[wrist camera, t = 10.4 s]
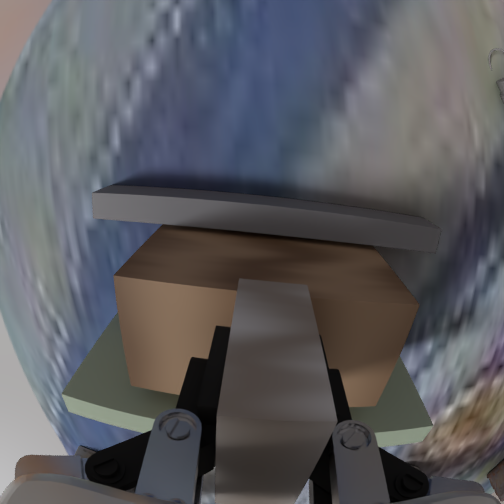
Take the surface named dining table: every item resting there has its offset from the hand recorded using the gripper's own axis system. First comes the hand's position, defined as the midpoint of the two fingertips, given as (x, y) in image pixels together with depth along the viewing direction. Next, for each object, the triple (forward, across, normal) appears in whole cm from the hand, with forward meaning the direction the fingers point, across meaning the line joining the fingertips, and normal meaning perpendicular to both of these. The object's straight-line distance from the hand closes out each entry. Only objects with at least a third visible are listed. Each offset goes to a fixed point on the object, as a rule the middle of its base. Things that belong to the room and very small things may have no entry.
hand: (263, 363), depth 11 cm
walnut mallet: (+8, 0, 0) cm, 8 cm away
